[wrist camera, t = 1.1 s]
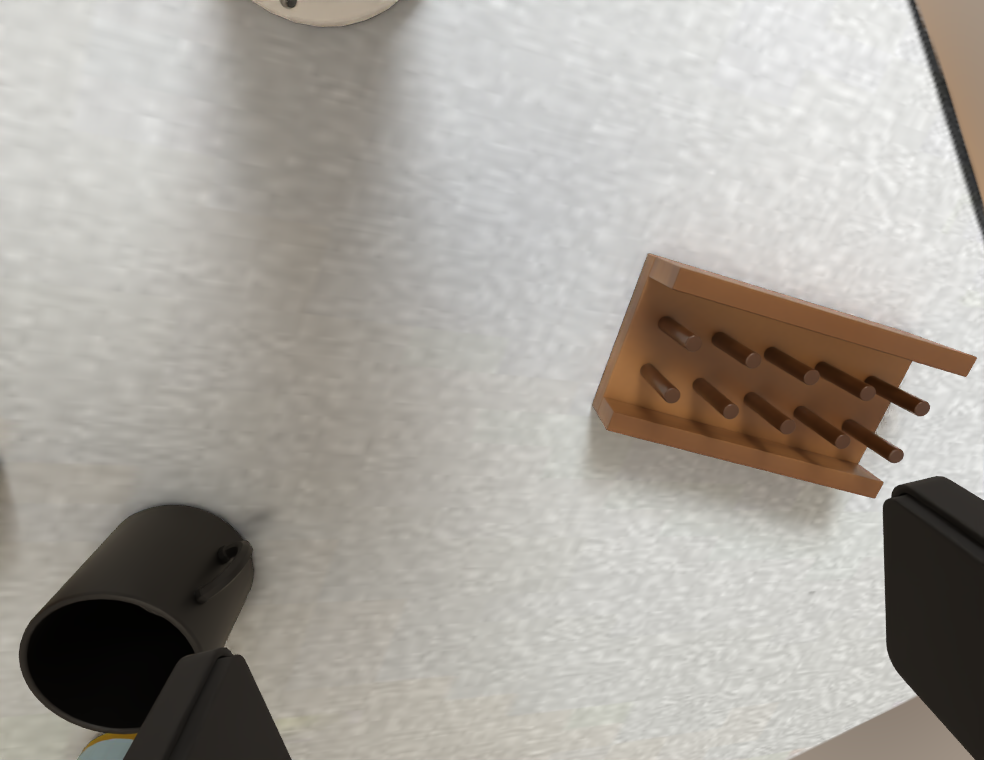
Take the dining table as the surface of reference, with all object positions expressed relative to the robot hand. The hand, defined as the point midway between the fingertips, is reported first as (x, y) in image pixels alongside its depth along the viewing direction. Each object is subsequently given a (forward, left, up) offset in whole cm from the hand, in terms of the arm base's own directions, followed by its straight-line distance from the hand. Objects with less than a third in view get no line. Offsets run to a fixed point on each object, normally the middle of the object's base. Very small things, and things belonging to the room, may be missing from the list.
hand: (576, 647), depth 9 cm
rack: (0, +18, -29) cm, 34 cm away
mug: (+22, -13, -29) cm, 39 cm away
